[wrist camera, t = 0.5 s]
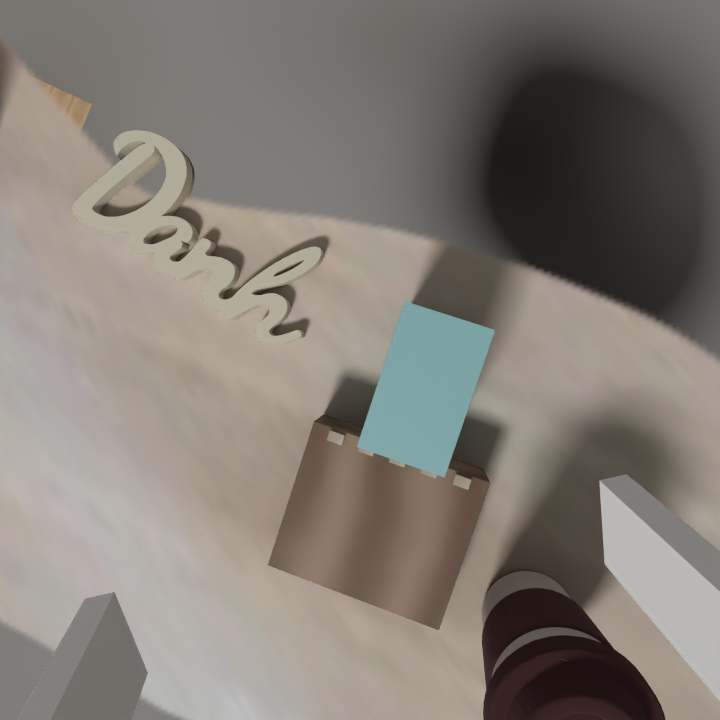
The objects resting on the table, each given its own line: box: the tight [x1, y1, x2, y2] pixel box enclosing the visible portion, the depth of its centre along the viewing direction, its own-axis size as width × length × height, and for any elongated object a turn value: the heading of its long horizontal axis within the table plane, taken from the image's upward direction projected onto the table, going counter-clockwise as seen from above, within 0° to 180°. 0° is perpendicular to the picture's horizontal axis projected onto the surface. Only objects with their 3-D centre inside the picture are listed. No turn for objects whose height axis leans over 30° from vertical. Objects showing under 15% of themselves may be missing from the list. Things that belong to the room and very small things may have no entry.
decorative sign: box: [72, 130, 324, 345], centre depth 44 cm, size 23×2×10 cm
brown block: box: [268, 415, 490, 630], centre depth 41 cm, size 14×12×4 cm
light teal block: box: [357, 301, 495, 478], centre depth 38 cm, size 6×10×9 cm, turn 162°
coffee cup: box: [482, 571, 665, 720], centre depth 35 cm, size 10×10×15 cm
